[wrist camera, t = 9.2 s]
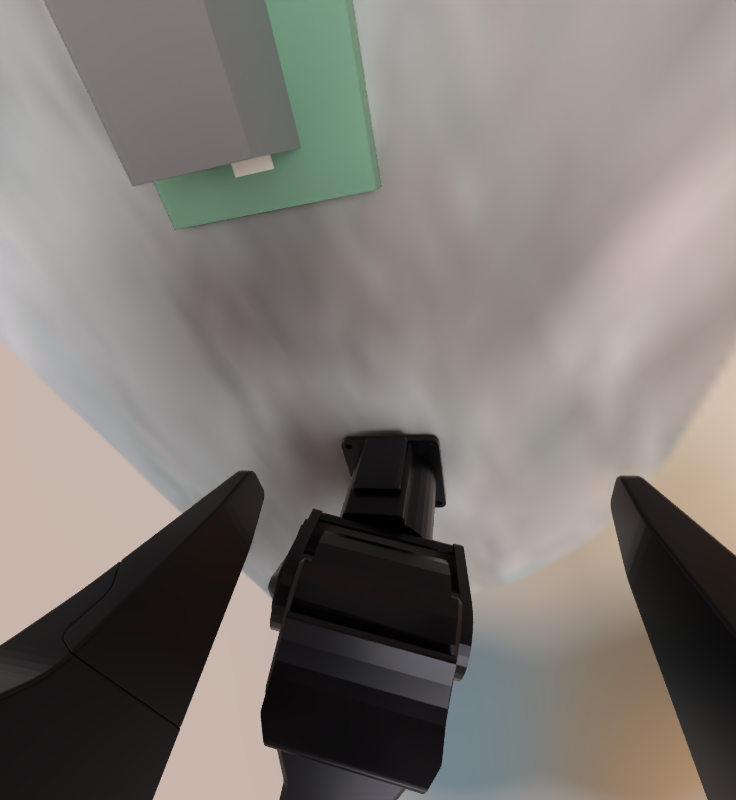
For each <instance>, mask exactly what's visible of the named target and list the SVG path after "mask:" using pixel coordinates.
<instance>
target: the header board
mask: <svg viewBox="0 0 736 800" xmlns="http://www.w3.org/2000/svg"><path fill="white" fill-rule="evenodd" d="M265 2H266V6H267V10H268V14H269V18H270V22H271V26H272V30H273V35H274V39H275V43H276V47H277V51H278V55H279V59H280V63H281V67H282V71H283V75H284V79H285V84H286V88H287V92H288V96H289V100H290V104H291V108H292V112H293V116H294V120H295V124H296V128H297V132H298V137H299V141H300V145H301V148H297V149H293V150H289V151H285V152H280V153H275V154H271V155H266V156H261V157H256V158H252V159H248V160H244V161H240V162H236V163H232V164H227V165H223V166H220V167H218V168H214V169H210V170H205V171H201V172H197V173H192V174H187V175H183V176H178V177H174V178H169V179H165V180H160V181H155V182H154V185H155V187H156V189H157V191H158V193H159V196H160V198H161V200H162V202H163V205H164V207H165V209H166V211H167V213H168V216H169V218H170V220H171V222H172V225H173V227H174V229H175V230H176V229H181V228H186V227H191V226H196V225H201V224H206V223H212V222H217V221H222V220H227V219H232V218H237V217H242V216H247V215H252V214H257V213H262V212H267V211H273V210H278V209H283V208H288V207H293V206H298V205H303V204H308V203H313V202H318V201H323V200H328V199H333V198H339V197H344V196H349V195H354V194H359V193H364V192H369V191H374V190H377V189H378V188H379V187H380V186H381V182H380V176H379V169H378V163H377V156H376V150H375V143H374V137H373V130H372V124H371V117H370V111H369V104H368V98H367V91H366V85H365V78H364V72H363V65H362V59H361V52H360V46H359V39H358V33H357V26H356V20H355V13H354V7H353V0H265Z"/></svg>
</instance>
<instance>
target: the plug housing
mask: <svg viewBox="0 0 736 800" xmlns="http://www.w3.org/2000/svg"><path fill="white" fill-rule="evenodd" d="M44 2H45V4H46V6H47V8H48V10H49V13H50V15H51V17H52V19H53V21H54V23H55V25H56V27H57V29H58V31H59V33H60V35H61V38H62V40H63V42H64V44H65V46H66V48H67V50H68V52H69V54H70V56H71V58H72V61H73V63H74V65H75V67H76V69H77V71H78V73H79V75H80V77H81V79H82V81H83V83H84V86H85V88H86V90H87V92H88V94H89V96H90V98H91V100H92V102H93V104H94V106H95V109H96V111H97V113H98V115H99V117H100V119H101V121H102V123H103V125H104V127H105V129H106V131H107V134H108V136H109V138H110V140H111V142H112V144H113V146H114V148H115V150H116V152H117V154H118V157H119V159H120V161H121V163H122V165H123V167H124V169H125V171H126V173H127V175H128V177H129V179H130V182H131V184H132V186H137V185H142V184H146V183H151V182H155V181H160V180H165V179H169V178H174V177H178V176H183V175H187V174H192V173H197V172H201V171H205V170H210V169H214V168H218V167H220V166H223V165H227V164H232V163H236V162H240V161H244V160H248V159H252V158H256V157H261V156H266V155H271V154H275V153H280V152H285V151H289V150H293V149H297V148H301V145H300V141H299V137H298V132H297V128H296V124H295V120H294V116H293V112H292V108H291V104H290V100H289V96H288V92H287V88H286V84H285V79H284V75H283V71H282V67H281V63H280V59H279V55H278V51H277V47H276V43H275V39H274V35H273V30H272V26H271V22H270V18H269V14H268V10H267V6H266V2H265V0H44Z"/></svg>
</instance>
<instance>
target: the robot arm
mask: <svg viewBox="0 0 736 800" xmlns="http://www.w3.org/2000/svg"><path fill="white" fill-rule="evenodd" d="M429 443H433V444H434V445H430V444H429ZM348 444H350V445H348ZM342 449H343V452H344V455H345V459H346V462H347V465H348V468H349V471H350V475H351V481H350V485H349V488H348V491H347V494H346V498H345V501H344V504H343V507H342V511H341V514H340V517H338V516H334V515H330V514H326V513H322V512H323V511H321V510H317V509H313V510H312V512H311V514H310V516H309V518H308V520H307V519H306V520H305V521H304V523H303V525H301V527H300V529H299V532H298V535H297V537H296V539H295V541H294V543H293V545H292V547H291V549H290V551H289V553H288V555H287V556H286V558H285V559H284V561H283V562H282V563H281V565H280V566H279V568H278V569H277V570H276V572H275V573H274V574H273V576H272V577H271V580H270V582H269V586H268V590H269V593H270V595H271V597H272V599H273V601H272V612H271V618H270V628H271V629H272V630H276V631H279V632H280V633H279V636H278V641H277V644H276V648H275V652H274V657H273V660H272V664H271V669H270V673H269V676H268V681H267V684H266V691H265V692H266V694H265V698H264V702H263V705H262V708H261V724H262V733H263V742H264V745H265V746H268V747H271V748H274V749H277V751H278V755H279V759H280V765H281V769H282V774H283V779H284V783H283V787H282V791H281V796H280V800H397V799H398V798H399V797H400V796H401V794H402V793H403V792H404V791H405V789H408V790H411V791H415V792H418V793H421V794H424V793H426V792H427V790H428V789H429V787H430V785H431V783H432V782H433V780H434V778H435V776H436V775H437V773H438V771H439V769H440V767H441V763H442V755H443V746H444V736H445V726H446V719H447V714H448V708H449V702H450V696H451V691H452V685H453V680H455V681H460V680H461V679H462V678H463V676H464V674H465V671H466V669H467V665H468V661H469V656H470V651H471V644H472V633H473V610H472V601H471V594H470V587H469V580H468V574H467V567H466V560H465V553H464V547H463V546H461V545H457V544H453V545H450V544H446V543H442V542H438V541H434V540H432V538H433V524H434V510H435V507H444V506H445V505H446V494H445V486H444V477H443V469H442V460H441V451H440V443H439V440H438V439H437V438H436V437H434V436H397V437H347V438H345V439H344V440H343V442H342ZM263 500H264V490H263V488H262V486H261V484H260V482H259V480H258V478H257V476H256V474H255V473H254V472H253V471H238V472H237V473H235V474H234V475H233V476H231V477H230V478H229V479H227V480H226V481H225V482H223V483H222V484H221V485H220V486H218V487H217V488H216V489H214V490H213V491H212V492H210V493H209V494H208V495H206V496H205V497H204V498H202V499H201V500H200V501H199V502H197V503H196V504H195V505H193V506H192V507H191V508H189V509H188V510H187V511H185V512H184V513H183V514H182V515H180V516H179V517H178V518H176V519H175V520H174V521H172V522H171V523H170V524H168V525H167V526H166V527H165V528H163V529H162V530H160V531H159V532H158V533H157V534H155V535H154V536H153V537H152V538H150V539H149V540H147V541H146V542H145V543H143V544H142V545H141V546H140V547H138V548H137V549H136V550H134V551H133V552H132V553H130V554H129V555H128V556H126V557H125V558H124V559H122V561H121V562H118V563H117V564H116V565H114V566H113V567H112V568H111V569H109V570H108V571H107V572H105V573H104V574H103V575H102V576H100V577H99V578H97V579H96V580H95V581H93V582H92V583H91V584H89V585H88V586H86V587H85V588H84V589H82V590H81V591H79V592H78V593H77V594H75V595H74V596H72V597H71V598H69V599H68V600H66V601H65V602H64V603H62V604H61V605H59V606H58V607H57V608H55V609H53V610H52V611H50V612H49V613H48V614H46V615H45V616H43V617H42V618H40V619H39V620H37V621H36V622H34V623H33V624H31V625H30V626H28V627H27V628H25V629H24V630H23V631H21V632H20V633H18V634H17V635H15V636H14V637H12V638H11V639H9V640H8V641H6V642H5V643H3V644H2V645H0V800H153V797H154V795H155V792H156V790H157V787H158V785H159V782H160V779H161V777H162V774H163V772H164V769H165V766H166V764H167V761H168V759H169V756H170V754H171V751H172V748H173V746H174V743H175V741H176V738H177V736H178V733H179V731H180V726H181V725H182V722H183V720H184V717H185V714H186V712H187V709H188V706H189V704H190V701H191V699H192V696H193V694H194V691H195V689H196V686H197V684H198V681H199V678H200V676H201V673H202V671H203V668H204V665H205V663H206V660H207V658H208V655H209V653H210V650H211V648H212V645H213V642H214V639H215V637H216V635H217V632H218V630H219V627H220V624H221V622H222V619H223V617H224V614H225V612H226V609H227V606H228V604H229V601H230V599H231V596H232V593H233V591H234V588H235V586H236V583H237V581H238V578H239V575H240V573H241V570H242V568H243V565H244V563H245V560H246V557H247V555H248V552H249V549H250V546H251V543H252V540H253V536H254V532H255V529H256V525H257V522H258V518H259V514H260V511H261V507H262V504H263ZM611 511H612V516H613V520H614V524H615V528H616V533H617V537H618V541H619V545H620V550H621V554H622V558H623V563H624V566H625V571H626V575H627V578H628V581H629V584H630V587H631V590H632V593H633V596H634V599H635V601H636V604H637V607H638V609H639V612H640V615H641V618H642V621H643V623H644V626H645V629H646V631H647V634H648V637H649V640H650V642H651V645H652V648H653V651H654V653H655V656H656V659H657V661H658V664H659V667H660V670H661V672H662V675H663V678H664V681H665V684H666V686H667V689H668V692H669V695H670V697H671V700H672V702H673V706H674V708H675V711H676V714H677V717H678V719H679V722H680V725H681V728H682V730H683V733H684V735H685V738H686V741H687V744H688V747H689V749H690V752H691V755H692V758H693V761H694V763H695V766H696V769H697V772H698V774H699V777H700V780H701V783H702V785H703V788H704V791H705V793H706V796H707V799H708V800H736V555H734V554H733V553H732V552H731V551H730V550H728V549H727V548H726V547H725V546H723V545H722V544H721V543H720V542H719V541H718V540H716V539H715V538H714V537H713V536H712V535H710V534H709V533H708V532H707V531H706V530H704V529H703V528H702V527H701V526H700V525H698V524H697V523H696V522H695V521H693V520H692V519H691V518H690V517H689V516H688V515H686V514H685V513H684V512H683V511H681V510H680V509H679V508H678V507H677V506H676V505H674V504H673V503H672V502H671V501H670V500H668V499H667V498H666V497H665V496H664V495H662V494H661V493H660V492H659V491H658V490H656V489H655V488H654V487H653V486H652V485H651V484H649V483H648V482H647V481H646V480H645V479H643V478H642V477H640V476H619V477H618V478H617V479H616V482H615V486H614V490H613V494H612V498H611Z"/></svg>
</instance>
